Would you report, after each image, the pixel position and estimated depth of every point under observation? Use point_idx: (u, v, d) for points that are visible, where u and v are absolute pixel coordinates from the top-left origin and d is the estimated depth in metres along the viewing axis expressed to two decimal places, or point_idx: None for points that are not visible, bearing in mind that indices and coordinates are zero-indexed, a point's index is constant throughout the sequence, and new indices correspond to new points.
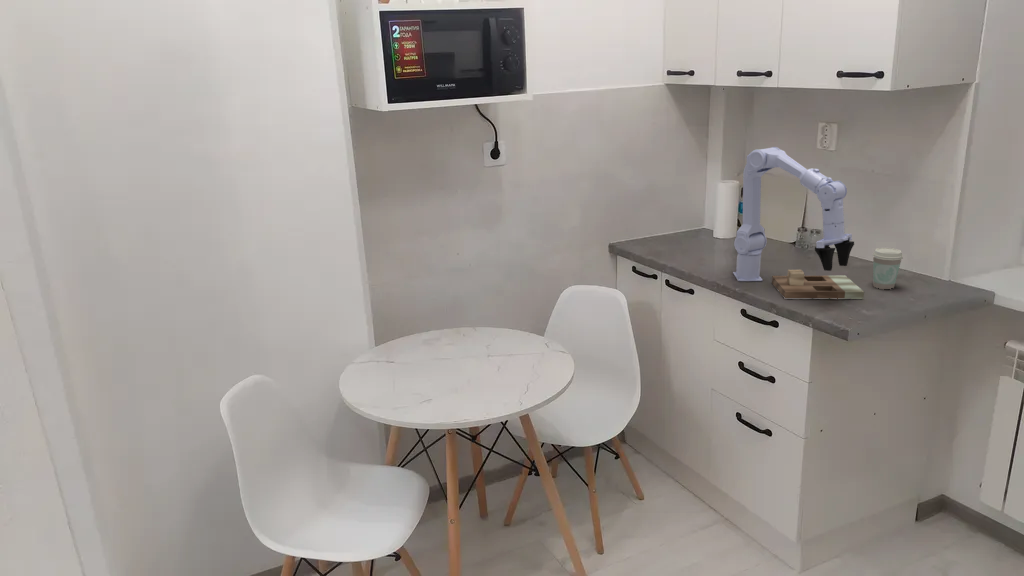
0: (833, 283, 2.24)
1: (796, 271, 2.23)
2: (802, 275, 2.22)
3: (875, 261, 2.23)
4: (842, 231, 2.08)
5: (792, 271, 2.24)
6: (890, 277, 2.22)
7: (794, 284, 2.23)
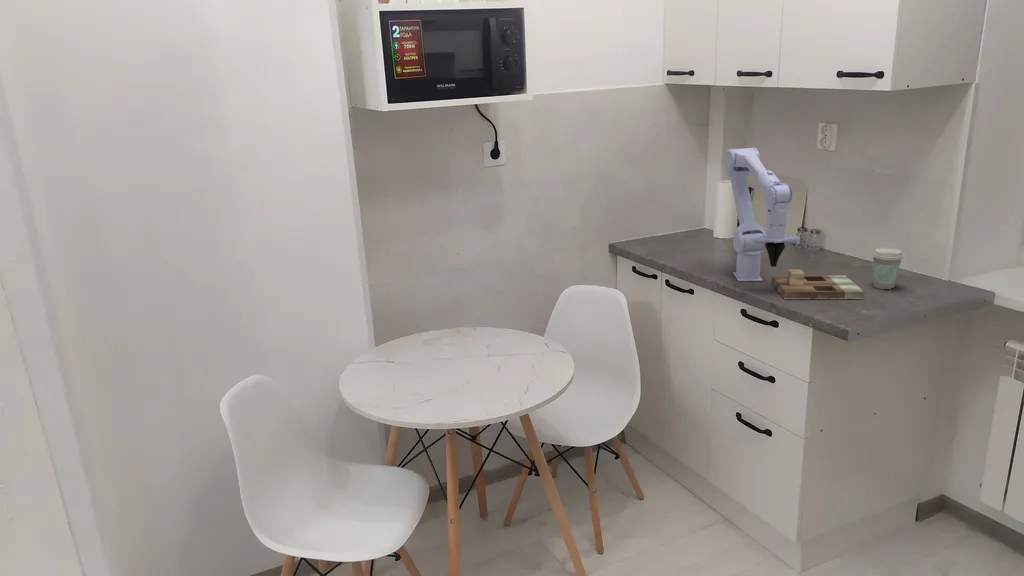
0: (833, 283, 2.24)
1: (796, 271, 2.23)
2: (802, 275, 2.22)
3: (875, 261, 2.23)
4: (777, 233, 2.18)
5: (792, 271, 2.24)
6: (890, 277, 2.22)
7: (794, 284, 2.23)
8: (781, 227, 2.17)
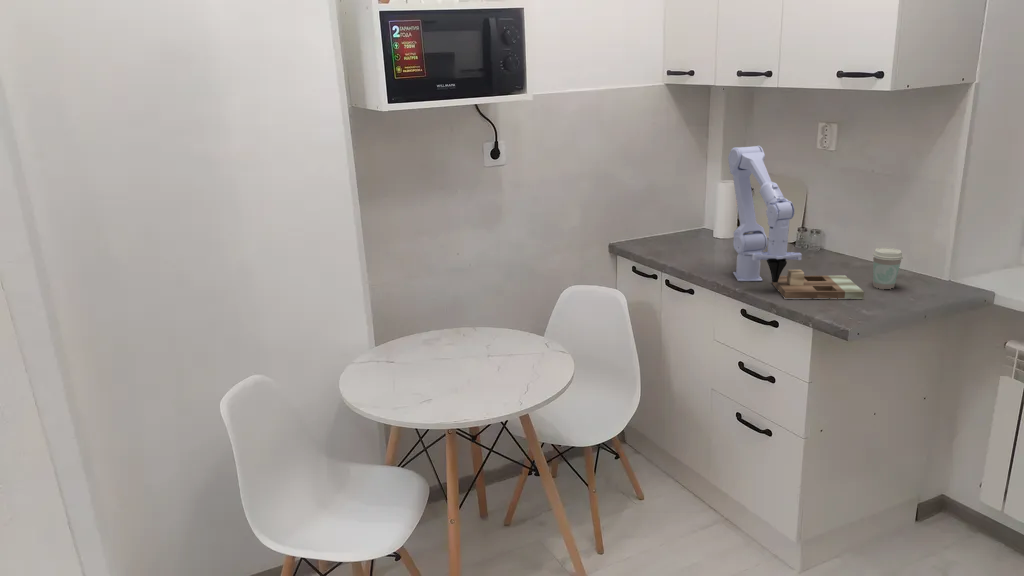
0: (833, 283, 2.24)
1: (796, 271, 2.23)
2: (802, 275, 2.22)
3: (875, 261, 2.23)
4: (779, 250, 2.19)
5: (792, 271, 2.24)
6: (890, 277, 2.22)
7: (794, 284, 2.23)
8: (783, 244, 2.19)
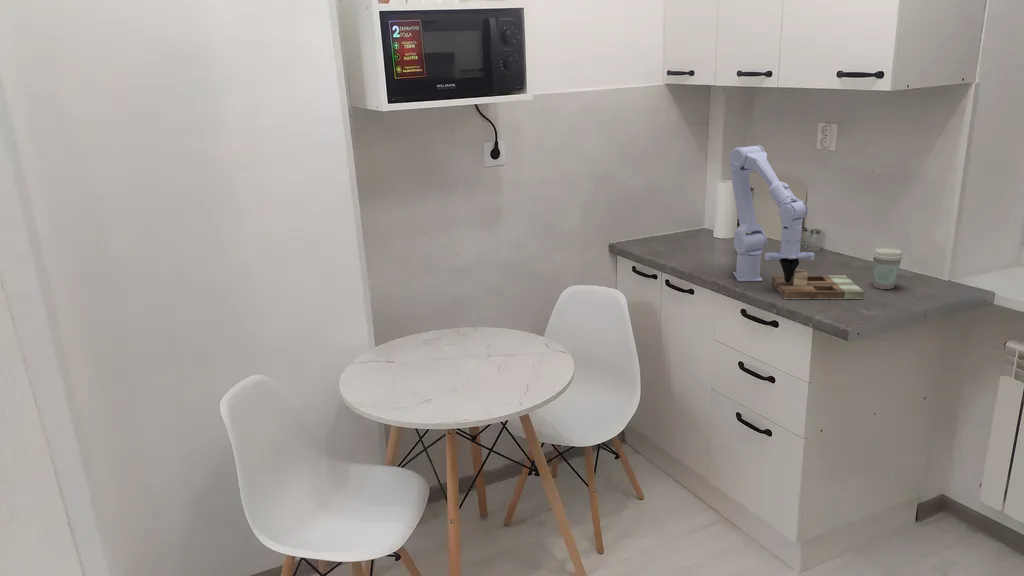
0: (833, 283, 2.24)
1: (800, 271, 2.23)
2: (806, 275, 2.22)
3: (875, 261, 2.23)
4: (792, 249, 2.19)
5: (796, 271, 2.24)
6: (890, 277, 2.22)
7: (797, 284, 2.23)
8: (796, 243, 2.19)
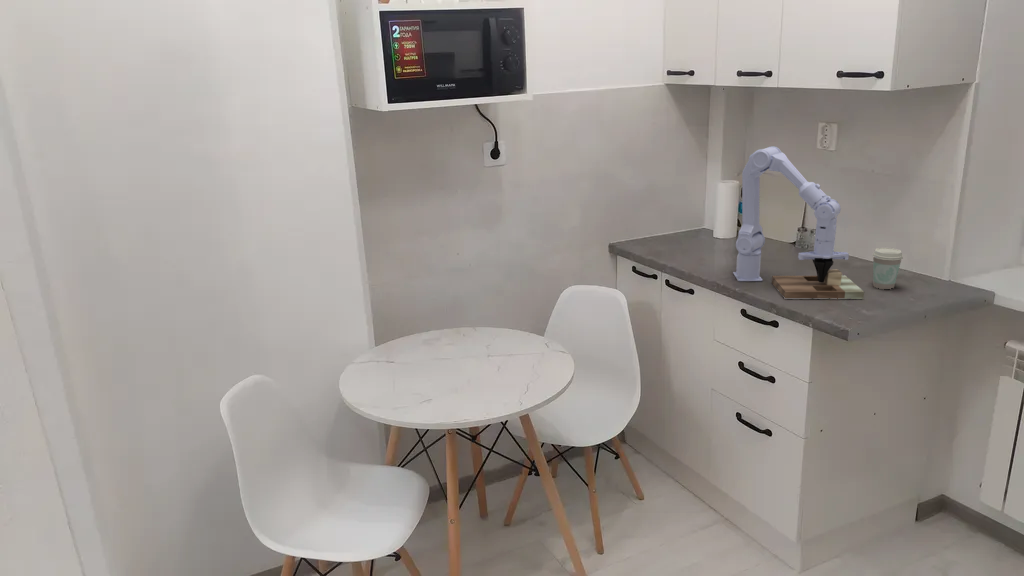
0: None
1: (834, 271, 2.22)
2: (840, 275, 2.21)
3: (875, 261, 2.23)
4: (826, 249, 2.18)
5: (829, 270, 2.23)
6: (890, 277, 2.22)
7: (831, 284, 2.22)
8: (830, 243, 2.17)
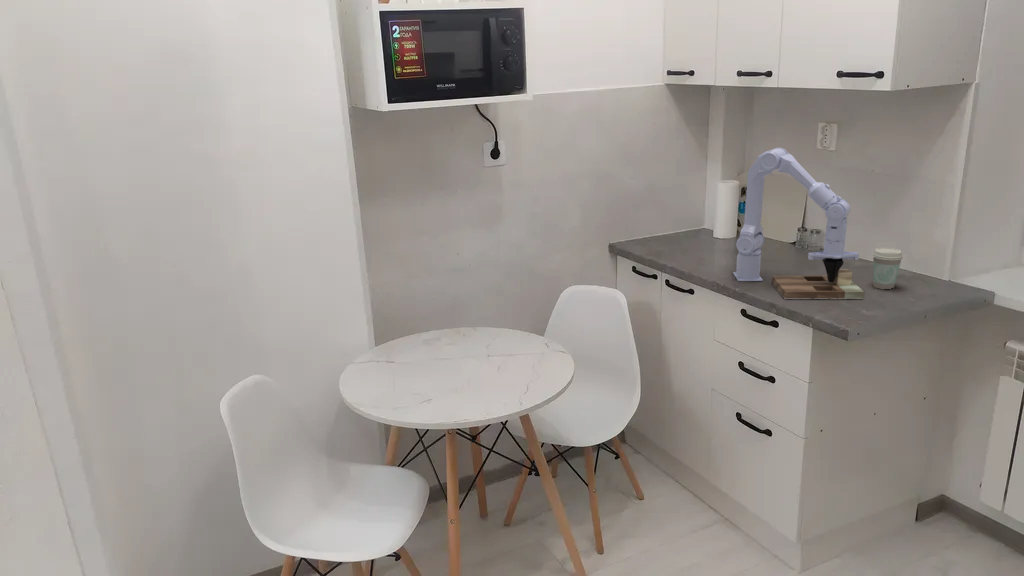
0: (833, 283, 2.24)
1: (844, 271, 2.22)
2: (850, 275, 2.20)
3: (875, 261, 2.23)
4: (836, 249, 2.18)
5: (839, 270, 2.23)
6: (890, 277, 2.22)
7: (841, 284, 2.22)
8: (840, 243, 2.17)
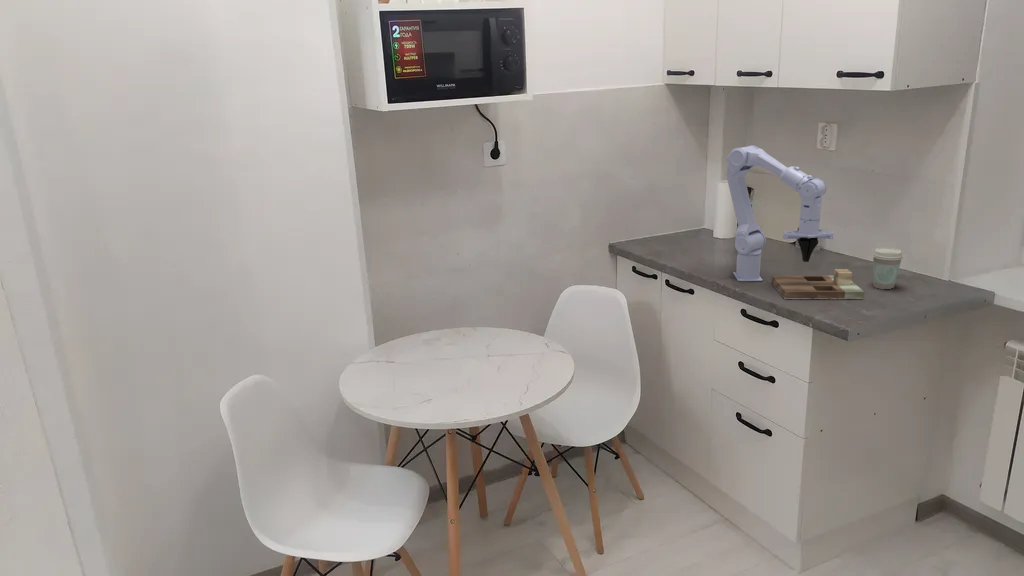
0: (833, 283, 2.24)
1: (844, 271, 2.22)
2: (850, 275, 2.20)
3: (875, 261, 2.23)
4: (811, 228, 2.17)
5: (839, 270, 2.23)
6: (890, 277, 2.22)
7: (841, 284, 2.22)
8: (815, 222, 2.16)
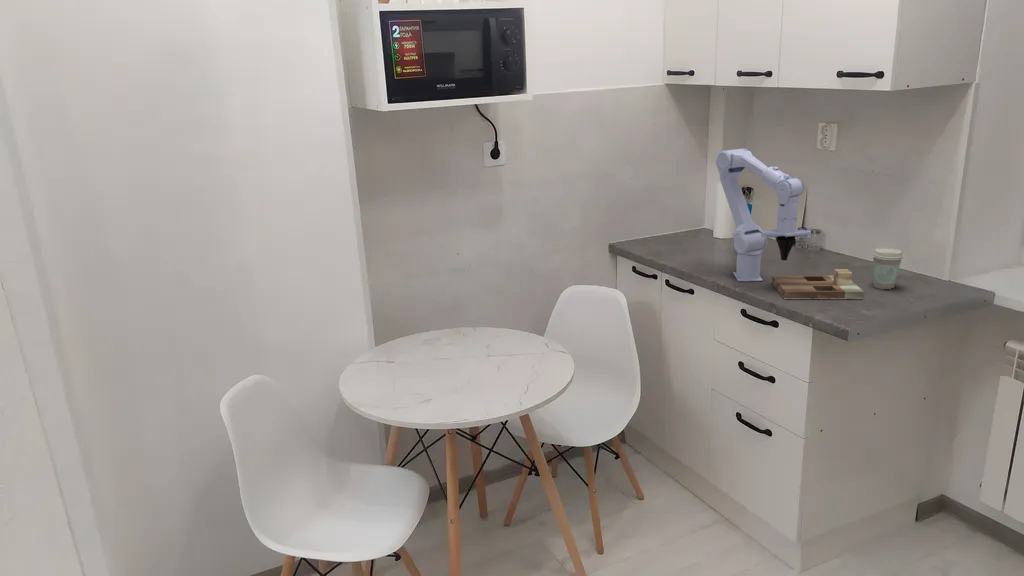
0: (833, 283, 2.24)
1: (844, 271, 2.22)
2: (850, 275, 2.20)
3: (875, 261, 2.23)
4: (788, 227, 2.19)
5: (839, 270, 2.23)
6: (890, 277, 2.22)
7: (841, 284, 2.22)
8: (792, 221, 2.18)
